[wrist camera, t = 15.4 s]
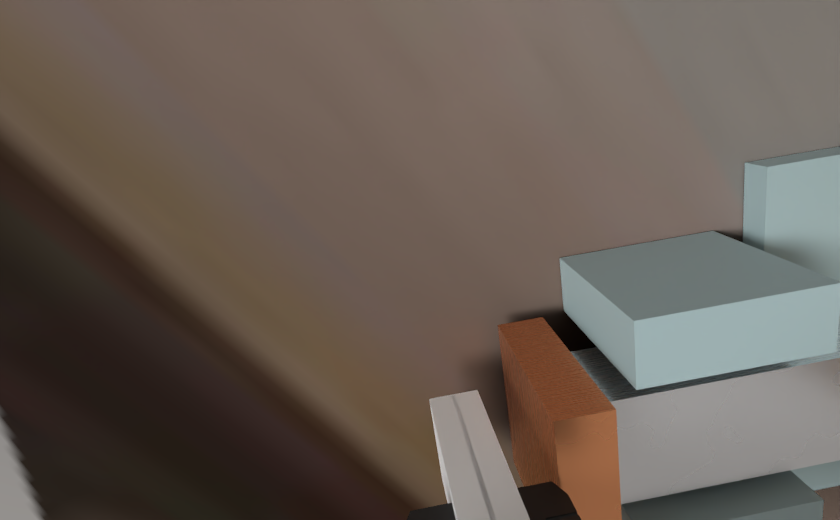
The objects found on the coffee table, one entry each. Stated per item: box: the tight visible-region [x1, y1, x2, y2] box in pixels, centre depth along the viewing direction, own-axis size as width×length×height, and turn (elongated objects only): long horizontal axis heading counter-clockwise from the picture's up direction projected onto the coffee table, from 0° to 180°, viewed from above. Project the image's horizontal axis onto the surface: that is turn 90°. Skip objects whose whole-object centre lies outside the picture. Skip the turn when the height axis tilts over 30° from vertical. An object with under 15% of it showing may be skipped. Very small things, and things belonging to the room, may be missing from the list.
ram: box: [498, 315, 840, 520], centre depth 16 cm, size 5×13×5 cm, turn 98°
